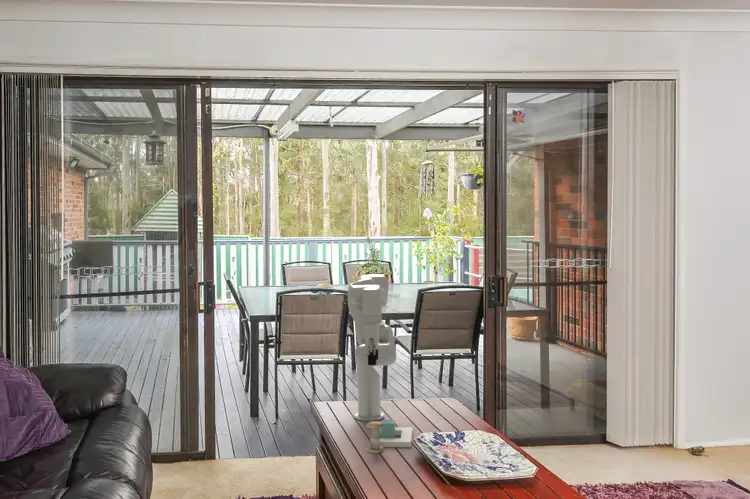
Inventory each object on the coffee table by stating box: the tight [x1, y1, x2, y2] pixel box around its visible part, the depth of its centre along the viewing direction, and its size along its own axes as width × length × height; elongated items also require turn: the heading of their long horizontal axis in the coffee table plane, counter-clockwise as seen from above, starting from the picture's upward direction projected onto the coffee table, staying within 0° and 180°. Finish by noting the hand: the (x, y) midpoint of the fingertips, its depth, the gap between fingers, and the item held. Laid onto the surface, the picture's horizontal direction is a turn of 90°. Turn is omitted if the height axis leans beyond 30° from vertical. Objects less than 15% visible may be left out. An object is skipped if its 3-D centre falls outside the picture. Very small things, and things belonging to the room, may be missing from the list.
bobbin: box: [366, 420, 384, 454], centre depth 279 cm, size 6×6×10 cm
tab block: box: [380, 419, 396, 438], centre depth 292 cm, size 5×5×7 cm
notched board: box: [380, 426, 414, 448], centre depth 292 cm, size 18×14×2 cm
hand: (373, 362), depth 299 cm, fingers open, 9 cm apart
